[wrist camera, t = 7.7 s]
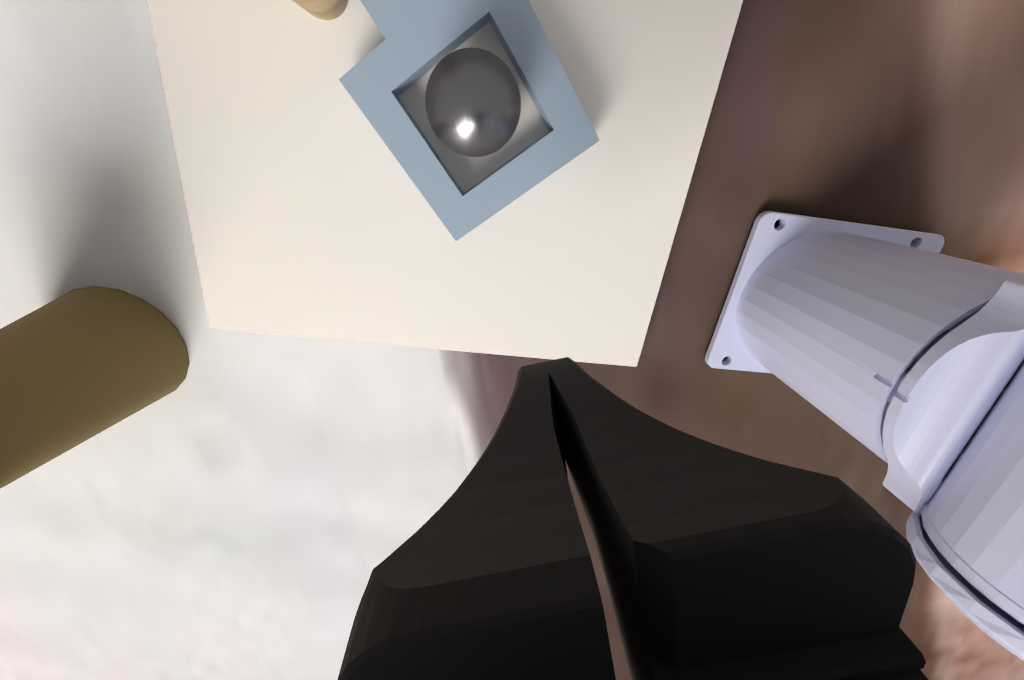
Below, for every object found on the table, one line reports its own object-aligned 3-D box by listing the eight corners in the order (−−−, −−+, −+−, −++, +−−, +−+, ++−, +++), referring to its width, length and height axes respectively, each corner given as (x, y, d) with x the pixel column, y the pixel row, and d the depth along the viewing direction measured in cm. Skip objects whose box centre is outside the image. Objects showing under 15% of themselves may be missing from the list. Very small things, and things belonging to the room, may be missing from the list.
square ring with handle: (591, 140, 16) (617, 139, 13) (457, 235, 17) (452, 254, 14) (367, -295, 11) (322, -465, 8) (202, -120, 12) (108, -210, 9)
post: (515, 81, 16) (527, 56, 12) (506, 158, 17) (514, 162, 13) (443, 70, 16) (427, 39, 11) (439, 149, 17) (423, 150, 13)
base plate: (805, -280, 13) (835, -319, 12) (628, 355, 22) (636, 366, 21) (87, -482, 10) (41, -555, 9) (224, 318, 20) (209, 329, 18)
